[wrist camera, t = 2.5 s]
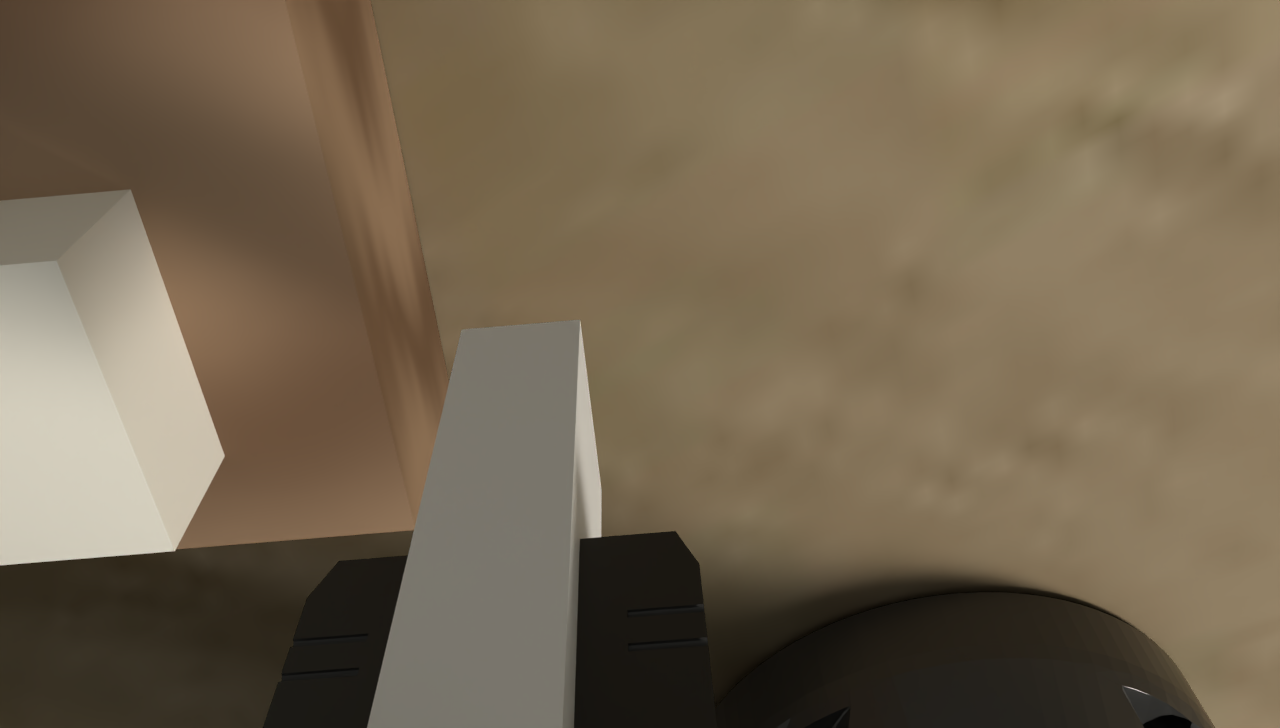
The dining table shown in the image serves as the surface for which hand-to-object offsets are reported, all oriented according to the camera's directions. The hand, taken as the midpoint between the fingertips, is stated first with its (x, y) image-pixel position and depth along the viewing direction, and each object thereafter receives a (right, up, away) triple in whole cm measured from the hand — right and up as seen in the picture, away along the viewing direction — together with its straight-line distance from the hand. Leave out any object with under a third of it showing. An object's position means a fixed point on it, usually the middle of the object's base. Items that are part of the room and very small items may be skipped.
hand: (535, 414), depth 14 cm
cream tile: (-9, +1, +3) cm, 9 cm away
